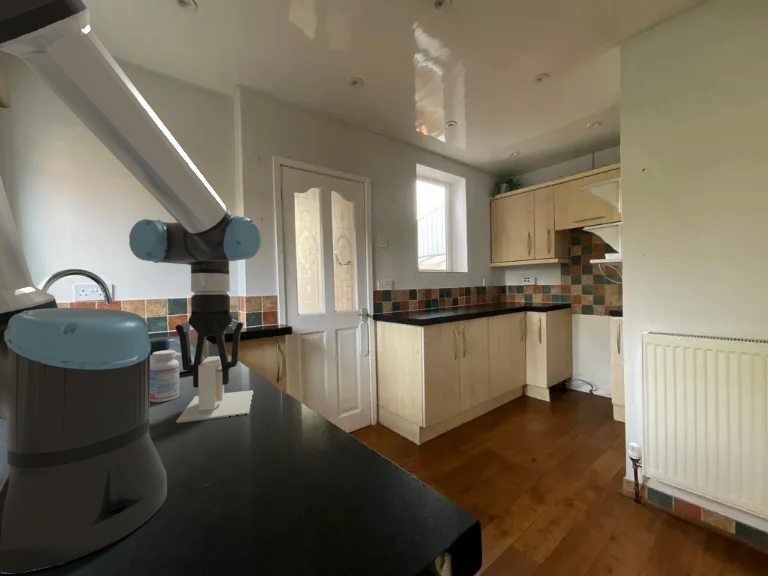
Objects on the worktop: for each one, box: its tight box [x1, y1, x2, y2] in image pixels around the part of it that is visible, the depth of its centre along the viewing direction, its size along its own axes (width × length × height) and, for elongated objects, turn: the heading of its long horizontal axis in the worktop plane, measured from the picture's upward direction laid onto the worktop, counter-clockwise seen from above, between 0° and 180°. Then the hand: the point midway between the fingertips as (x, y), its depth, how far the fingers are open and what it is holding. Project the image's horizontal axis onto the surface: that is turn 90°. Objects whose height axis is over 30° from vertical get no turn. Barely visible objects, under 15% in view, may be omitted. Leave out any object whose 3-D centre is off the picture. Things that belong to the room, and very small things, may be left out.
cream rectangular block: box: [197, 355, 222, 410], centre depth 71 cm, size 10×3×9 cm, turn 19°
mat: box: [175, 389, 254, 424], centre depth 72 cm, size 16×13×1 cm
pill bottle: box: [150, 349, 180, 403], centre depth 77 cm, size 6×6×11 cm
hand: (211, 400), depth 71 cm, fingers closed on cream rectangular block, 3 cm apart
